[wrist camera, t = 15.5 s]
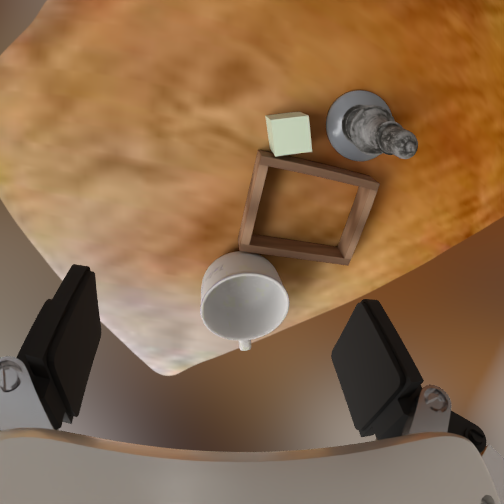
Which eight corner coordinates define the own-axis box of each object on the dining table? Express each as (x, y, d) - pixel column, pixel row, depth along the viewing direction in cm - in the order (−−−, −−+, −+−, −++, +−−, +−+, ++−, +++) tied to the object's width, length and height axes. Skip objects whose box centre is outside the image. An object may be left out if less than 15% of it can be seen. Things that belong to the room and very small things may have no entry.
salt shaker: (352, 93, 32) (406, 104, 22) (389, 117, 34) (448, 139, 24) (330, 134, 35) (376, 162, 24) (368, 156, 36) (420, 190, 26)
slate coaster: (336, 80, 32) (338, 80, 31) (398, 104, 33) (401, 104, 33) (317, 150, 36) (318, 151, 36) (379, 167, 38) (381, 168, 37)
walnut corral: (258, 149, 36) (261, 156, 33) (369, 176, 38) (379, 183, 36) (237, 238, 41) (239, 250, 39) (341, 253, 44) (348, 265, 42)
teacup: (207, 235, 41) (205, 270, 34) (287, 245, 43) (301, 280, 36) (196, 315, 48) (194, 354, 41) (265, 320, 50) (272, 359, 43)
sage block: (265, 115, 34) (270, 120, 30) (299, 111, 34) (308, 115, 30) (269, 148, 36) (275, 156, 32) (302, 143, 36) (312, 151, 32)
